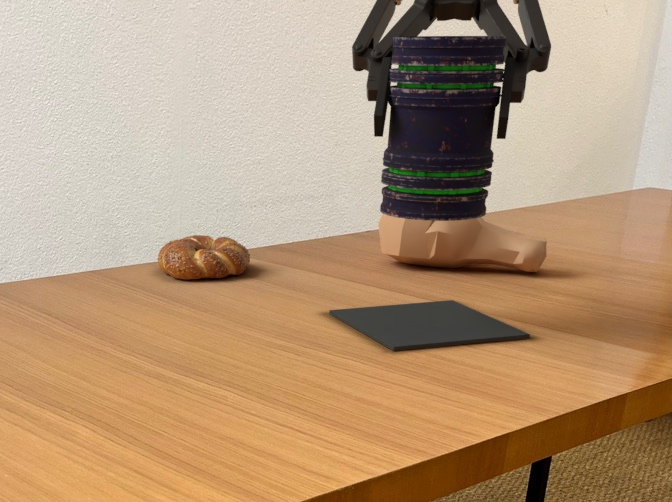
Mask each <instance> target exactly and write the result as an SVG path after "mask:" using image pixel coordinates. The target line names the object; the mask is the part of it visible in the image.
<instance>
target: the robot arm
mask: <svg viewBox="0 0 672 502" xmlns="http://www.w3.org/2000/svg"><path fill="white" fill-rule="evenodd" d="M402 1H403V0H375V3H374V5H373V7H372V8H371V10H370V12H369V14H368V16H367V17H366V20H365V22H364V23H363V25H362V27H361V29H360V31H359V32H358V34H357V36H356V38H355V40H354V42H353V44H352V46H351V55H352V69H353V70H354V71H355V72H363V71H364V70H365V71H367V72H368V74H367V79H366V99H367V102H375V106H374V112H373V132H374V133H373V137H375V138H376V137H377V138H378V137H379V138H380V137H381V138H383V137H384V133H385V131H384V130H385V124H386V118H387V112H388V105H389V103H388V97H389V96H388V94H389V87H390V86H392V85H391V84H392V82H389V79H390V78H389V73H390V69H392V66H393V64H392V55H394V47H393V39H394V37H412V36H420V34H421V33H422V32H423V31H427V30H428V29H429V28H430V27H431V26H432V25H433V23H434V22H435V21H436V22H446V21H452V20H458V21H464V22H465V21H469V22H470V21H472V19H473V21H474V22H475V24H476V25H477V27H478V28H479V30H480V31H482V30H483V32H484V33H485V34H486V36H507V39H506V46H505V47H504V50H503V54H504V55H505V56H504V68H503V69H504V72H503V73H504V76H503V82H502V84H501V93H500V94H501V97H500V102H499V112H498V114H499V115H498V120H497V121H498V122H497V131H496V139H497V140H506V139H507V131H508V123H509V118H510V117H509V116H510V108H511V104H521V103H522V102H523V100H524V97H525V92H526V85H527V77H528V74H529V73H530V72H533V71H535V72H537V73H544V72H545V71H546V70H547V69H548V66H549V62H550V56H551V50H552V43H551V40H550V36H549V33H548V30H547V26H546V23H545V19H544V16H543V13H542V9H541V5H540V2H539V0H512V3H513V4H514V5H517V14H518V18H519V21H520V25H521V28H522V29H521V30H522V32H523V35H524V39H525V42H524V41H523V39H522V37H521V36H520V34H519V33H518V32H517V30H516V28H515V26H514V25H513V24H512V22H511V21H510V19H509V18H508V16H507V15H506V14H505V12H504V10H503V9H502V7H501V6H500V4H499V2H498V0H414V1H413V3H412V5H411V6H410V7H409V8H408V10H407V11H406V12H405V13H403V15H402V16H401V17H400V18H399V19H398V21H397V22H395V24H394V25H393V26H392V27H391V28H390V30H389V31H388V32H387V33H386V34H385V32H386V30H387V28H388V26H389V24H390V22H391V21H392V19H393V17H394V15H395V12H396V7H397V6H400V5H402ZM384 34H385V35H384Z"/></svg>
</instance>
